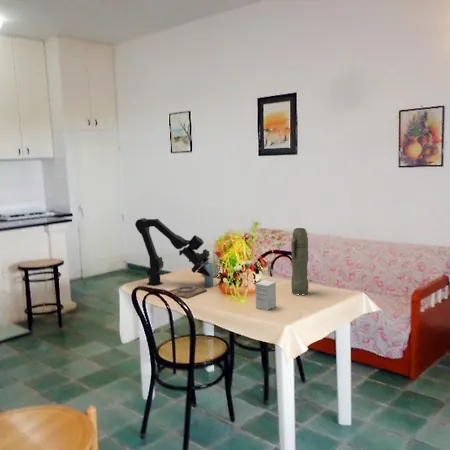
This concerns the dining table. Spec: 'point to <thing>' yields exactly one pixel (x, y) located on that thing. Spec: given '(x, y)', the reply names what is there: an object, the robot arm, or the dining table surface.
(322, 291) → the dining table surface
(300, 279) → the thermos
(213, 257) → the decorative egg
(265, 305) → the grey drawer cabinet
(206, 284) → the sleeve
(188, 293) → the collar board
